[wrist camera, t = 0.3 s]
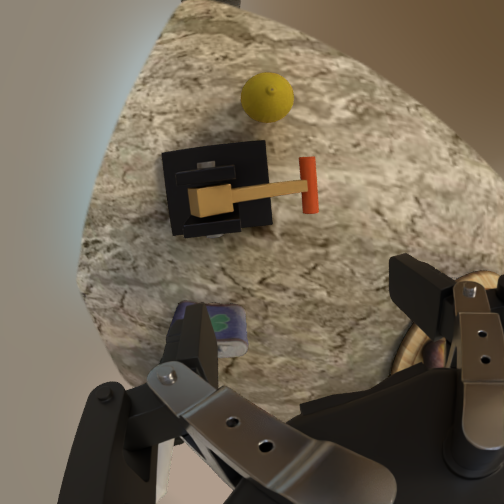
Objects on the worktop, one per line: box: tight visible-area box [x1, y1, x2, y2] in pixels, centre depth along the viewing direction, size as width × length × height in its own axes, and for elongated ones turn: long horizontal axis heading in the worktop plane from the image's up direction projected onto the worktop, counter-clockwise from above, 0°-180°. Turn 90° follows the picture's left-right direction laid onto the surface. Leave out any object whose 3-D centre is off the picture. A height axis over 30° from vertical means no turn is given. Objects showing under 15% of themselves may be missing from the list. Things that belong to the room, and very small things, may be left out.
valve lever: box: [188, 157, 319, 218], centre depth 25 cm, size 12×5×2 cm, turn 96°
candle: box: [156, 359, 184, 504], centre depth 30 cm, size 5×5×25 cm
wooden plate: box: [391, 271, 500, 375], centre depth 42 cm, size 32×32×8 cm
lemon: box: [241, 72, 294, 123], centre depth 28 cm, size 6×6×8 cm
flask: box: [166, 300, 248, 358], centre depth 34 cm, size 9×3×11 cm, turn 84°
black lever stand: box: [162, 140, 273, 238], centre depth 28 cm, size 12×10×14 cm
